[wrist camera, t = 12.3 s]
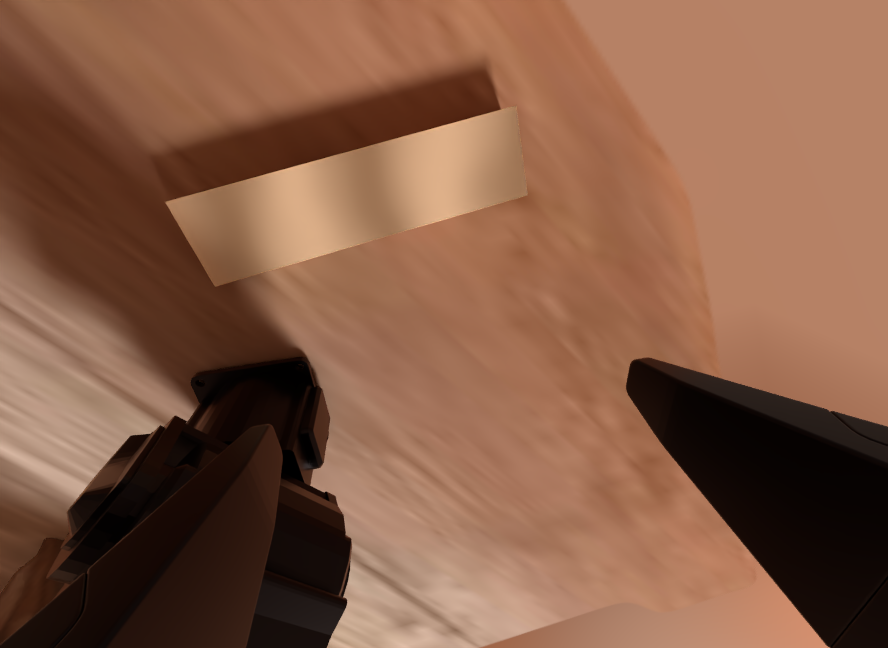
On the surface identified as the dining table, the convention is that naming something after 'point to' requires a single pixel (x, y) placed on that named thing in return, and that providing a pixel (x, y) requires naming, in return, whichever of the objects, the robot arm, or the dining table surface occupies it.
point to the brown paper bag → (29, 589)
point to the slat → (353, 197)
